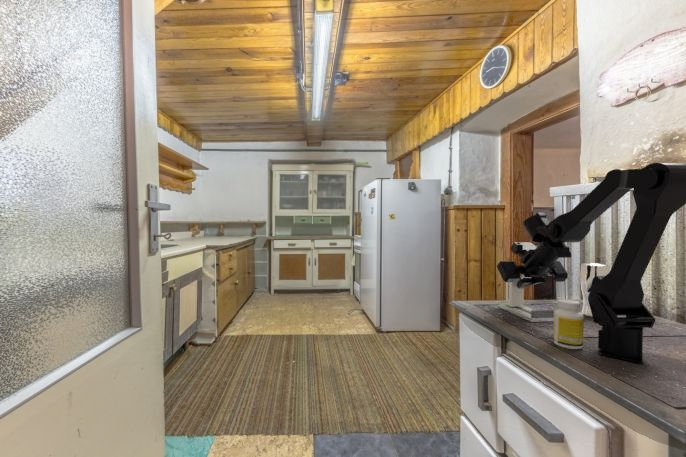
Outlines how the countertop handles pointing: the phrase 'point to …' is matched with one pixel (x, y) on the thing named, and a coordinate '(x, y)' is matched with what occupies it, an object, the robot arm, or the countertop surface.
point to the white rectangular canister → (514, 294)
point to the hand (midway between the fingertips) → (518, 287)
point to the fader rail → (530, 313)
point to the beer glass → (590, 281)
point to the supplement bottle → (568, 325)
